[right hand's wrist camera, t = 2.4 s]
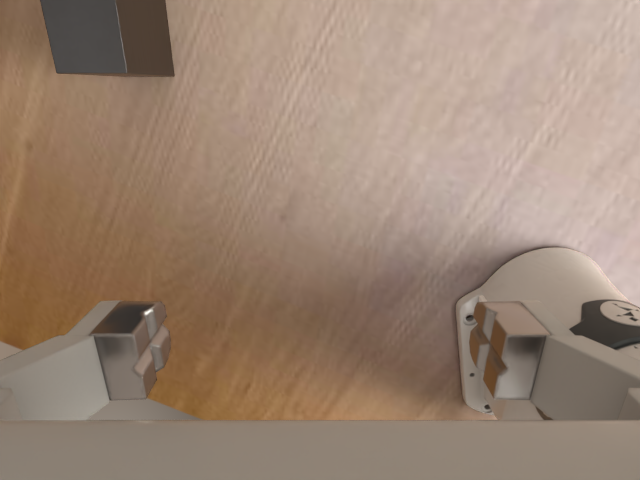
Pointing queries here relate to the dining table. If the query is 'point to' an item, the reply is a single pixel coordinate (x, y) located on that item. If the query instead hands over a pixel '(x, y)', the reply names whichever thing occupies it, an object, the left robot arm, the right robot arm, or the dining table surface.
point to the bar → (109, 37)
